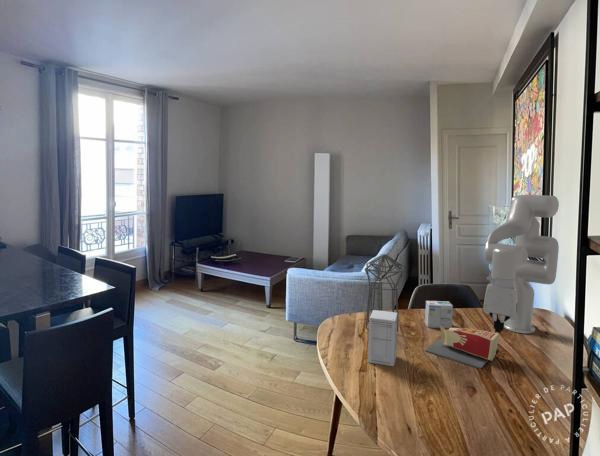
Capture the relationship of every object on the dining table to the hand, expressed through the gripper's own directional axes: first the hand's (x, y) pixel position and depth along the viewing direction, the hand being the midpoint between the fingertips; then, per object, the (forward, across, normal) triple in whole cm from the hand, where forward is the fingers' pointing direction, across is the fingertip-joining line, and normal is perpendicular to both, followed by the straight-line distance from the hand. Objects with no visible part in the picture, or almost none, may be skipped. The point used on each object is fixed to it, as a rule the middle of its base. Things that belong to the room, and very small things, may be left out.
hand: (498, 331), depth 136 cm
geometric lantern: (+11, -42, -9) cm, 44 cm away
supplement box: (+11, -31, -28) cm, 43 cm away
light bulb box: (+11, -29, +19) cm, 36 cm away
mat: (+11, -12, 0) cm, 16 cm away
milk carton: (+6, 0, -1) cm, 7 cm away
